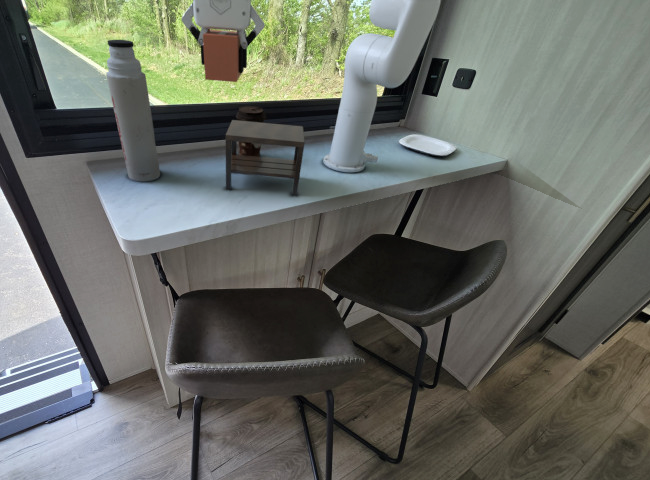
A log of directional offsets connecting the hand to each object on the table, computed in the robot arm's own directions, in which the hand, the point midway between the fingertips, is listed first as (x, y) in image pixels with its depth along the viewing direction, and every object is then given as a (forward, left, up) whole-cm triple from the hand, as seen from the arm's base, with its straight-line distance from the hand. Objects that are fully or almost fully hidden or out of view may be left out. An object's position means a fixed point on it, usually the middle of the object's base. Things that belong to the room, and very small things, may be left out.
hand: (224, 69), depth 66 cm
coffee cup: (-4, -23, -25) cm, 34 cm away
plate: (-66, -46, -25) cm, 84 cm away
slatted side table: (-9, -5, -25) cm, 27 cm away
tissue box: (0, 0, -1) cm, 1 cm away
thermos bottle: (+22, -3, -25) cm, 33 cm away
